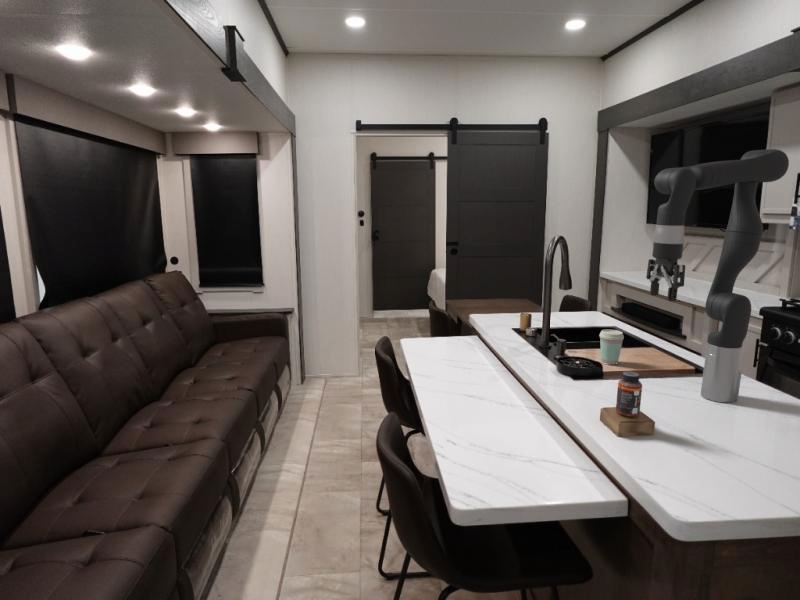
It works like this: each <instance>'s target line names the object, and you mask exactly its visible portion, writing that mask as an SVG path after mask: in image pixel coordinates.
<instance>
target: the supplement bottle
mask: <svg viewBox="0 0 800 600" xmlns="http://www.w3.org/2000/svg"><path fill="white" fill-rule="evenodd" d="M621 377H622V379H620V380H618V383H617V391H616V392H617V394H616V403H615V407H616V412H617V413H618V414H620V415H622V416H626V417H636V416H638V415H639V412H640V411H641V404H642V403H641V400H642V391H643V384H642V382H641V381H640V374H639V373H637V372H634V371H623V373H622V376H621Z"/></svg>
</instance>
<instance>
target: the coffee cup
mask: <svg viewBox="0 0 800 600" xmlns="http://www.w3.org/2000/svg"><path fill="white" fill-rule="evenodd" d="M598 336H599V339H600V341H599V342H600V343H599V344H600V363H602V362H603V363H607V364H616V363H618V364H619V359H620V355H621V350H622V346H623V341H624V338H625V336H624V333H623V332H622V330H617V329H602V330H601V331H600V333H599V335H598ZM603 363H602V364H603Z"/></svg>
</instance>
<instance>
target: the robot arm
mask: <svg viewBox="0 0 800 600" xmlns="http://www.w3.org/2000/svg"><path fill="white" fill-rule="evenodd" d="M789 164H790V161H789V157H788V155H787V154H786V152H784V151H783V150H780V149H776V148H775V149H774V148H773V149H772V148H771V149H769V148H768V149H756V150H749V151H747V152H745V153H744V154H743V155H741V158H740V159H735V160H734V159H732V160H719V161H711V162H705V163H704V162H703V163H698V164H695V165H689V166H681V167H680V166H679V167H670V168H669V167H668V168H665V169H662V170H661V171H659V172H658V174H656V176H655V177H654V179H653V180H654V182H653V183H654V187H655V190H657V192H659V193H660V194H663V195H670V197H669V199H668V201H667V202H665V203H662V204H660V205H659V207H658V208H657V217H656V225H655V229H654V234H653V245H652V246H653V247H652V255H651V256H652V258H651V259H648V260H647V261H648V262H647V270H646V279H647V280H649V283H650V288H649V294H650V296H658V295H659V293H660V292H659V291H660V281H661V280H662V278H664V280H665V282H667V286H668V289H667V297H666V298H667V299H666V300H667V301H668V302H676V301H677V298H678V297H677V296H678V288H682V287H684V286H685V276H686V265H685V264H678V260H681V259H682V258H683V251H684V242H685V225H686V224H685V222H686V213H687V209H688V206H689V205H690V202H691V199H692V196H693V194H694V191H698V190H699V191H700V190H707V189H712V188H713V189H714V188H717V187H723V186H727V185H732V184H733V185H734V184H735V185H734V192H733V198H732V204H731V209H730V213H729V218H728V223H727V227H726V231H725V234H724V237H723V242H722V248H721V252H720V256H719V261H718V264H717V266H716V267H717V268H716V270H715V274H714V277H713V280H712V283H711V286H710V289H709V290H708V293H707V297H706V301H705V312H706V315H707V317H709V318H710V319H712V320H715V321H718V322H722V325H721V329H720V330H718V331H712V332H709V333H708V335H707V338H706V339H707V340H706V348H705V356H704V357H705V358H704V364H703V372H702V382H701V387H700V396H701V397H703V398H704V399H707V400H710V401H713V402H718V403H732V402H734V401H738V400H739V393H740V387H741V381H742V380H741V379H742V370H741V369H740V365H741V359H742V358H741V357H742V349H743V343H744V341H745V339H746V337H747V335H748V330H749V325H750V324H749V323H750V320H751V315H752V303H751V300H750V298H748V297H747V296H746V295H743V294H740V293H735V292H733V291H734V287H735V283H736V281H737V279H738V277H739V275H740V274H741V272H742V271H743V269H744V268H746V266H748V264H749V263H750V262H751V261H752V260H753V259H754V258H755V256H756V255H757V253H758V252H759V248H760V245H761V241H762V237H763V231H764V225H763V221H762V218H761V215H760V213H759V210H758V207H757V204H756V195H757V188H758V186H759V185H758V184H759V183H772V182H776V181H778V180H781V179H782V178H783V177H784V176H785V175H786V173H788V172H787V171H788V169H789V166H790V165H789Z"/></svg>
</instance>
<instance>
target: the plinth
mask: <svg viewBox="0 0 800 600" xmlns="http://www.w3.org/2000/svg"><path fill="white" fill-rule="evenodd" d="M599 412H600V414H599V417H600V418H599V421H600V422H601V423H602V424H603V425H604V426H605V427H607V429H609V430H610V432H612V434H614V435H615V436H616V437H634V436H635V437H637V436H639V437H640V436H654V435H655V428H656V421H655V420H653V419H652V418H651V417H649V416H648V415H647V414H646V413H644V412H643V411H641V410H640V412H639V415H638V416H636V417H626V416H622V415H620V414H618V413H617V412H616V406H609V407H608V406H607V407H602V408H600V411H599Z"/></svg>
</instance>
